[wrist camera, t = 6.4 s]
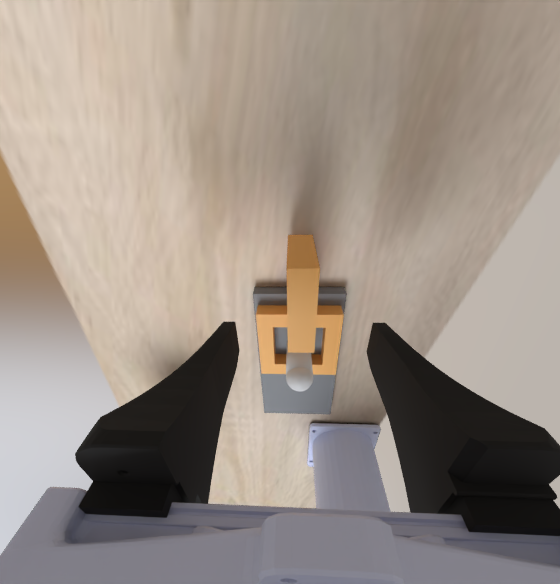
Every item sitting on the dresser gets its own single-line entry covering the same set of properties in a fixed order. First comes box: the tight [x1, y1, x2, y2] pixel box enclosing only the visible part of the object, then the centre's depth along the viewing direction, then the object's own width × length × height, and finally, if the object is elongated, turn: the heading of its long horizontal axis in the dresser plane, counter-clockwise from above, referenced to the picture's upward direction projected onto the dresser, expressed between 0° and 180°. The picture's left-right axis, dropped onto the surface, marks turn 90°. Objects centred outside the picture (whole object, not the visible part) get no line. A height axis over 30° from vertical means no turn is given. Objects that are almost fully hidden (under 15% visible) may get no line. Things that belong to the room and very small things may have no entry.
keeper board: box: [253, 287, 346, 414], centre depth 21 cm, size 15×7×6 cm, turn 1°
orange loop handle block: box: [256, 235, 344, 375], centre depth 17 cm, size 12×6×5 cm, turn 1°
